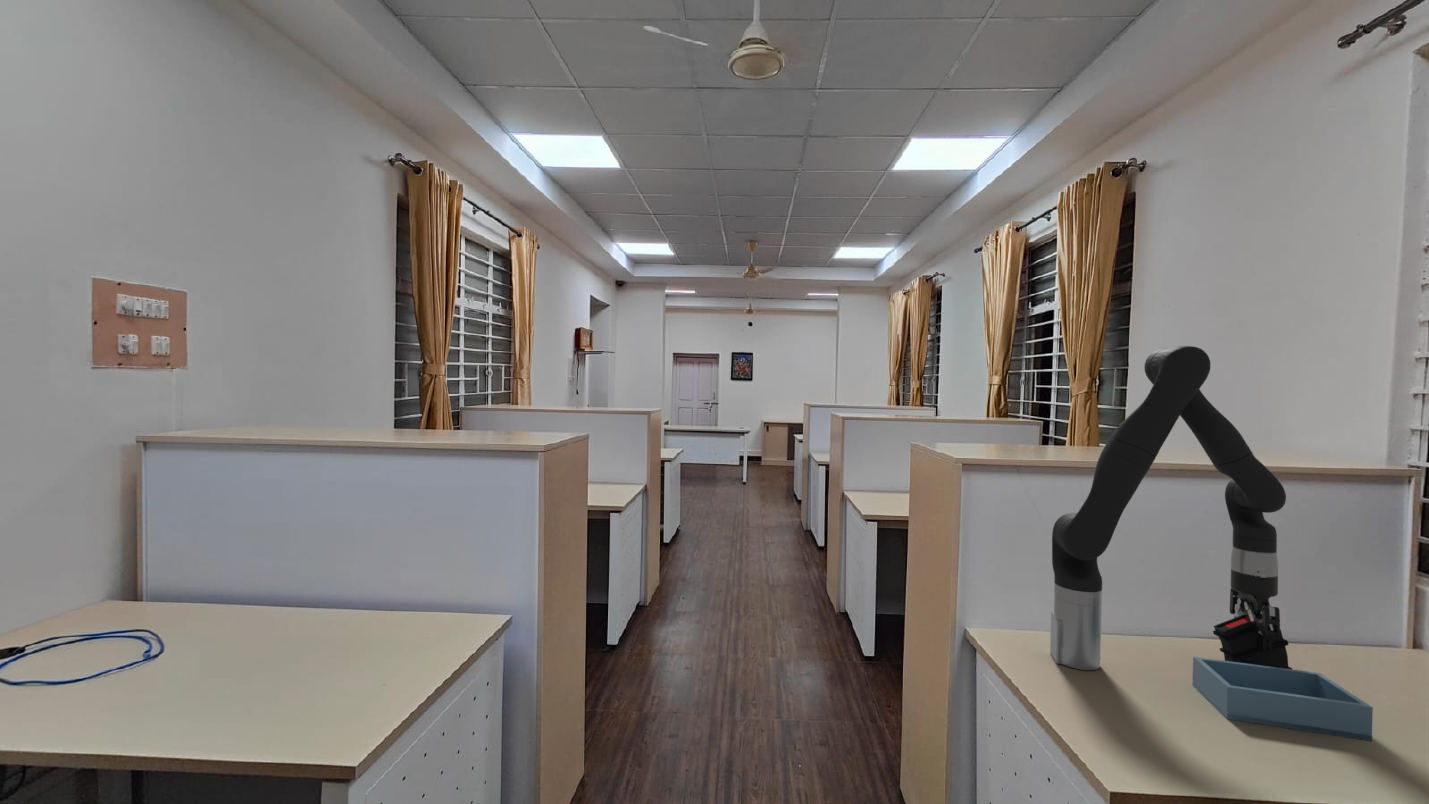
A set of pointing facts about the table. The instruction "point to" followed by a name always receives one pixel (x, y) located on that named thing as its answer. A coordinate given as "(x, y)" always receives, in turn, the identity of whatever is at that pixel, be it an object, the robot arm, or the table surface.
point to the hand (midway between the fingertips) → (1253, 645)
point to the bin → (1282, 698)
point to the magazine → (1249, 644)
